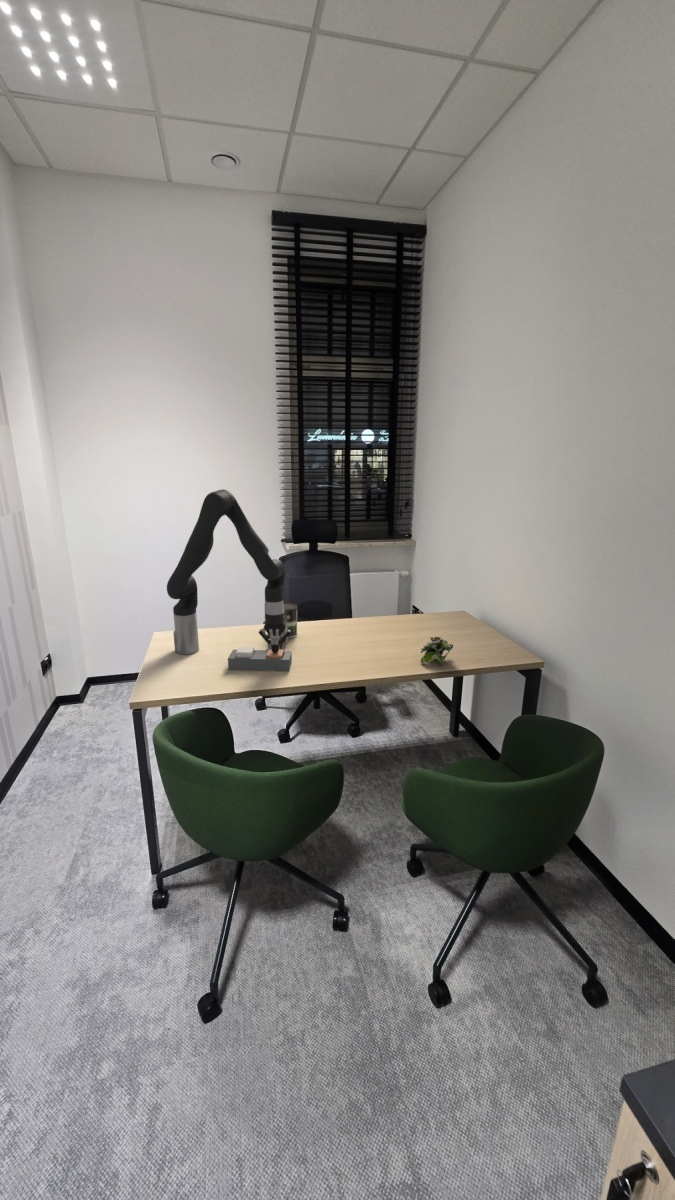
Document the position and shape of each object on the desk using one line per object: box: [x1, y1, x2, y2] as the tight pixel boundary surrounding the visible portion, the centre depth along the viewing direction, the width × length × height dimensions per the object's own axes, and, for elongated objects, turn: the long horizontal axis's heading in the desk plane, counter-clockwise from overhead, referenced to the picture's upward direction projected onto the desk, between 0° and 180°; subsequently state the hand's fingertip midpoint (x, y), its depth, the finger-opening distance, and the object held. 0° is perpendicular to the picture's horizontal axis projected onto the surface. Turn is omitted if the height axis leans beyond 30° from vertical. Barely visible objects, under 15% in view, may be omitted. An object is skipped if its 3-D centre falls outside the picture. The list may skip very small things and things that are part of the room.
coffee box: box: [266, 610, 288, 650], centre depth 211 cm, size 9×6×16 cm
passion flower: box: [420, 636, 454, 666], centre depth 199 cm, size 13×12×14 cm
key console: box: [227, 649, 293, 672], centre depth 193 cm, size 24×9×5 cm, turn 89°
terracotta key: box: [267, 649, 285, 659], centre depth 192 cm, size 6×6×3 cm
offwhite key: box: [236, 646, 255, 658], centre depth 192 cm, size 6×6×3 cm
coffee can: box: [283, 602, 298, 639], centre depth 226 cm, size 10×10×14 cm
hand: (275, 652), depth 192 cm, fingers closed
